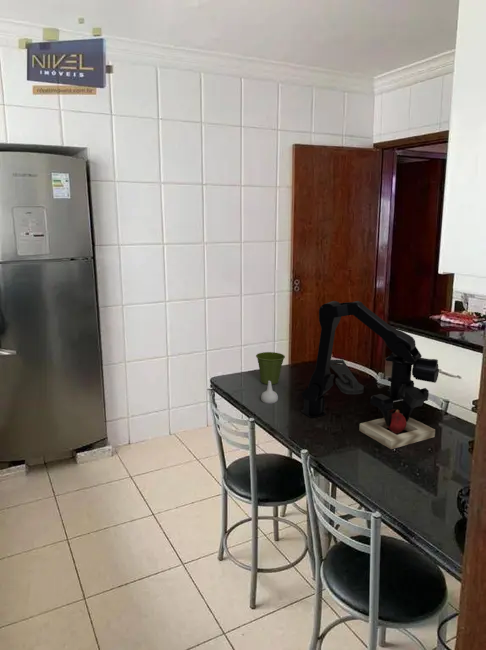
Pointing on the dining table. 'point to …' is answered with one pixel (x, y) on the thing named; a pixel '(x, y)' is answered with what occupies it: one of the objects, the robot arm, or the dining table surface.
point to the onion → (397, 422)
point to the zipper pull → (346, 378)
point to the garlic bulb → (269, 395)
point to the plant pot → (270, 366)
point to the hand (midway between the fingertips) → (397, 423)
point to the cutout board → (391, 440)
